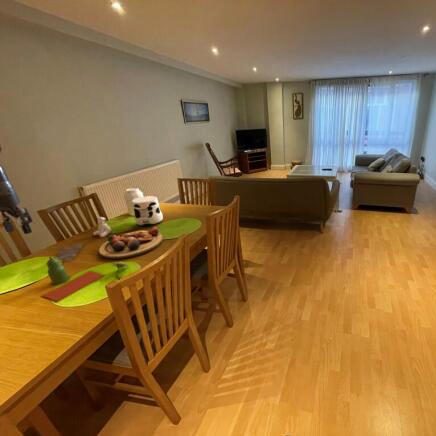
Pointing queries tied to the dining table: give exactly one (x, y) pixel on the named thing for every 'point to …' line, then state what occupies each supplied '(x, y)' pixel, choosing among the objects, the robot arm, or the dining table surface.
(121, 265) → the decorative flower
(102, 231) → the seated beast figurine
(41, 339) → the dining table surface
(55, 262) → the pear
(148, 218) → the milk container
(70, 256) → the rug
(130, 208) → the white vase
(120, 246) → the wooden plate
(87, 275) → the cloth
